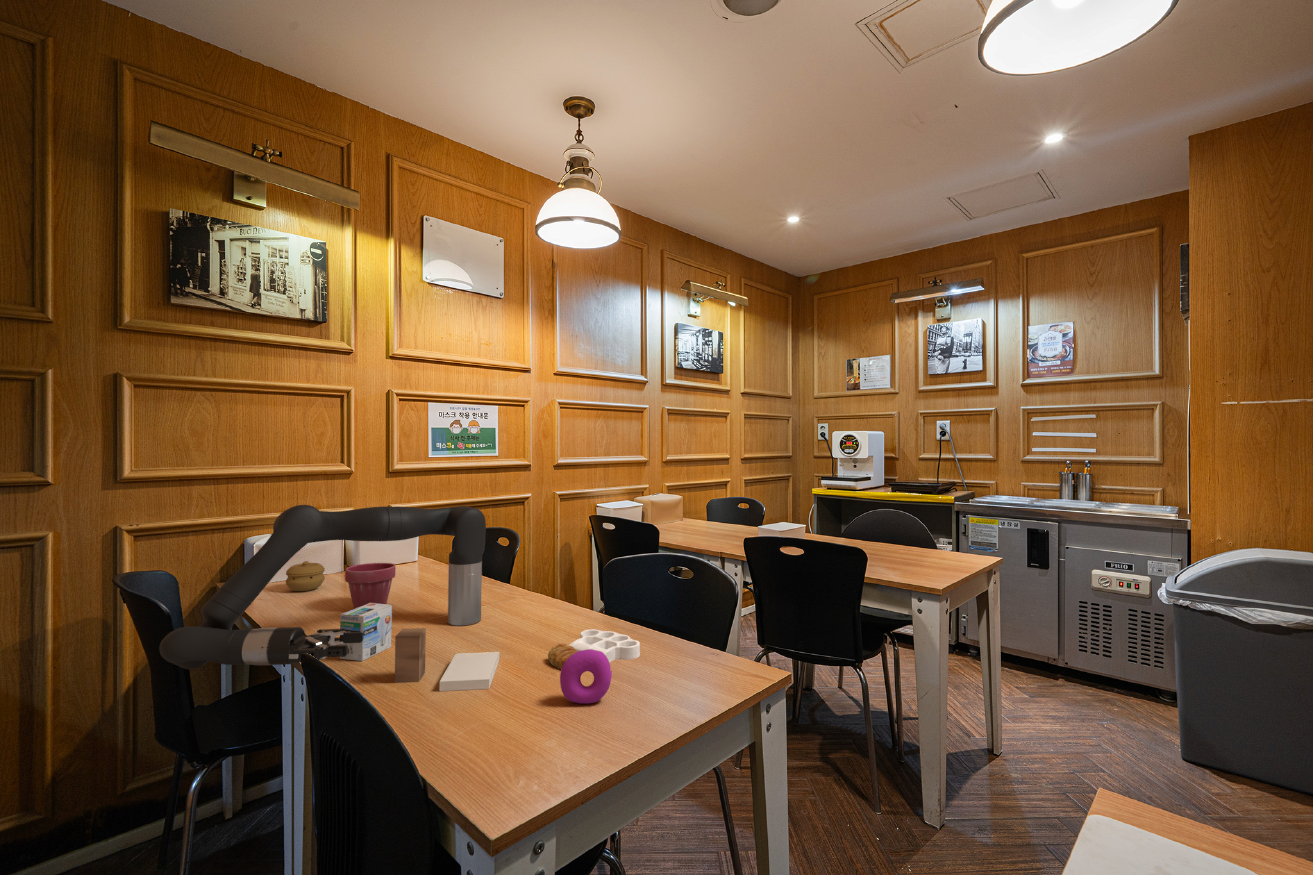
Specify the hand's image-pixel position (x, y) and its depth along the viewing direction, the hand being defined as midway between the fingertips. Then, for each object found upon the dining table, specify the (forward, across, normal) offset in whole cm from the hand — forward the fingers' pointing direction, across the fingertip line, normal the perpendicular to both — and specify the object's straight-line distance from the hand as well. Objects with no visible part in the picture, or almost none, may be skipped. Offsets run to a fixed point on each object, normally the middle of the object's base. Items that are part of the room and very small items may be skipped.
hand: (355, 643), depth 122 cm
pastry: (+45, +5, +8) cm, 46 cm away
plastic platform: (+24, 0, +8) cm, 26 cm away
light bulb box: (-4, +17, +8) cm, 19 cm away
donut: (+50, -16, +8) cm, 52 cm away
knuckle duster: (+55, +11, +8) cm, 57 cm away
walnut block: (+12, 0, +8) cm, 14 cm away
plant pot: (-17, +58, +8) cm, 61 cm away
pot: (-47, +83, +8) cm, 96 cm away
